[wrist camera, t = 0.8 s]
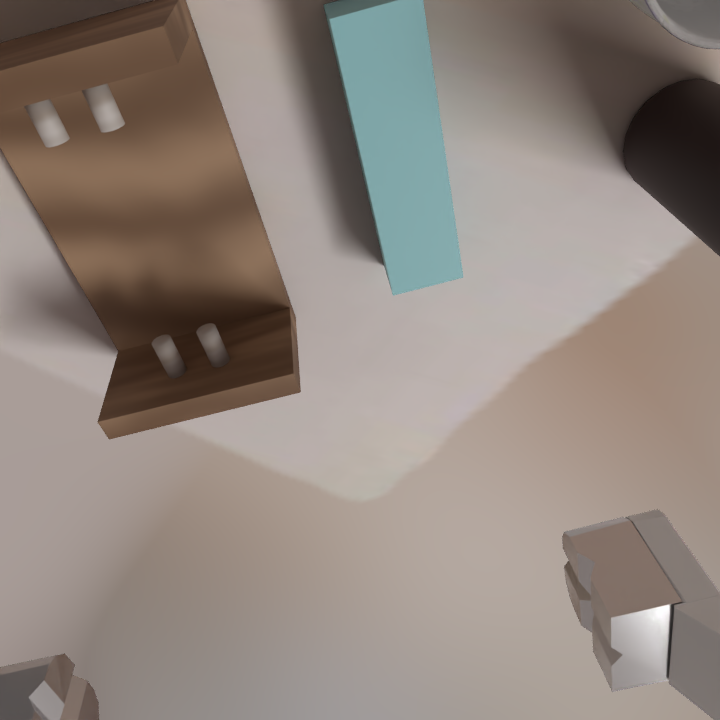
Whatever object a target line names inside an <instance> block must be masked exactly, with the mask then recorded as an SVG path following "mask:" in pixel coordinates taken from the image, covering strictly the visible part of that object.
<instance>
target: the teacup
mask: <svg viewBox="0 0 720 720" xmlns="http://www.w3.org/2000/svg"><path fill="white" fill-rule="evenodd" d="M630 1H631V2H632V3H633V4H634V5H635V6H636V7H637V8H639V9H640V10H641V11H642V12H644V13H645V14H647V15H648V16H649V17H651V18H652V19H654V20H656V21H657V22H659V23H660V25H661V26H662V27H663V28H665V29H666V30H667V31H668V32H669V33H670V34H672V35H673V36H675V37H676V38H678V39H680V40H682V41H684V42H686V43H689V44H691V45H693V46H697V47H701V48H706V49H720V0H630Z"/></svg>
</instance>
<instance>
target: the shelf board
mask: <svg viewBox="0 0 720 720" xmlns="http://www.w3.org/2000/svg"><path fill="white" fill-rule="evenodd" d="M324 9H325V13H326V18H327V22H328V26H329V31H330V35H331V39H332V44H333V48H334V52H335V56H336V61H337V65H338V69H339V74H340V78H341V82H342V87H343V91H344V95H345V99H346V104H347V108H348V112H349V117H350V121H351V125H352V129H353V134H354V138H355V142H356V147H357V151H358V155H359V160H360V164H361V168H362V172H363V177H364V181H365V185H366V190H367V194H368V198H369V203H370V207H371V211H372V215H373V220H374V224H375V228H376V233H377V237H378V241H379V245H380V250H381V254H382V258H383V263H384V267H385V270H386V274H387V277H388V280H389V284H390V287H391V290H392V294H393V295H397V294H401V293H405V292H409V291H413V290H416V289H420V288H424V287H428V286H432V285H436V284H440V283H444V282H448V281H452V280H455V279H459V278H463V271H462V264H461V257H460V250H459V244H458V237H457V230H456V223H455V216H454V209H453V202H452V196H451V189H450V182H449V175H448V168H447V161H446V154H445V147H444V141H443V134H442V127H441V120H440V113H439V106H438V99H437V93H436V86H435V79H434V72H433V65H432V58H431V51H430V44H429V38H428V31H427V24H426V17H425V10H424V3H423V0H339V1H335V2H332V3H328V4H324Z"/></svg>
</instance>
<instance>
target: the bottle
mask: <svg viewBox="0 0 720 720" xmlns="http://www.w3.org/2000/svg"><path fill="white" fill-rule="evenodd" d="M623 153H624V159H625V165H626V169H627V170H628V172H629V173H630V175H631V176H632V178H633V180H634V181H635V182H637V183H638V184H639V185H640V186H641V187H642V188H643V189H644V190H646V191H647V192H648V193H649V194H650V195H651V196H652V197H653V198H655V199H656V200H657V201H658V202H659V203H660V204H661V205H662V206H664V207H665V208H666V209H667V210H668V211H669V212H670V213H671V214H673V215H674V216H675V217H676V218H677V219H678V220H679V221H680V222H682V223H683V224H684V225H685V226H686V227H687V228H688V229H689V230H691V231H692V232H693V233H694V234H695V235H696V236H697V237H699V238H700V239H701V240H702V241H703V242H704V243H705V244H706V245H708V246H709V247H710V248H711V249H712V250H713V251H714V252H715V253H717V254H718V255H719V256H720V85H719V84H717V83H714V82H710V81H706V80H702V79H694V80H687V81H680V82H677V83H675V84H673V85H671V86H669V87H666V88H664V89H662V90H661V91H660V92H658V93H657V94H656V95H654V96H653V97H652V98H651V99H649V100H648V101H647V102H646V103H645V104H644V105H643V107H642V108H641V109H640V111H639V112H638V113H637V114H636V116H635V117H634V118H633V121H632V123H631V125H630V127H629V129H628V131H627V134H626V137H625V144H624V150H623Z"/></svg>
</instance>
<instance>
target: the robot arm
mask: <svg viewBox="0 0 720 720" xmlns="http://www.w3.org/2000/svg"><path fill="white" fill-rule="evenodd" d="M562 543H563V549H564V552H565V554H566V556H567V558H568V560H569V561H568V562H567V564H566V565H565V566H564V570H565V578H566V584H567V588H568V592H569V596H570V599H571V602H572V604H573V607H574V610H575V612H576V614H577V617H578V619H579V621H580V623H581V625H582V626H583V627H584V628H586V629H587V630H589V631H590V632H592V636H593V652H594V654H595V656H596V658H597V660H598V663H599V665H600V667H601V669H602V671H603V673H604V675H605V677H606V680H607V682H608V684H609V686H610V688H611V690H612V691H618V690H623V689H628V688H633V687H638V686H643V685H647V684H652V683H657V682H662V681H666V680H669V684H670V685H671V686H673V687H674V688H675V689H676V690H678V691H679V692H680V693H681V694H683V695H684V696H685V697H686V698H688V699H689V700H690V701H692V702H693V703H694V704H695V705H696V706H698V707H699V708H700V709H701V710H703V711H704V712H705V713H706V714H708V715H709V716H710V717H711V718H713V719H714V720H720V591H719V590H718V588H717V587H716V586H715V584H714V583H713V581H712V580H711V579H710V577H709V576H708V574H707V573H706V572H705V570H704V569H703V567H702V566H701V565H700V563H699V562H698V561H697V559H696V558H695V556H694V555H693V553H692V552H691V551H690V549H689V548H688V546H687V545H686V544H685V542H684V541H683V539H682V538H681V536H680V535H679V534H678V532H677V531H676V530H675V528H674V527H673V525H672V524H671V522H670V521H669V520H668V518H667V517H666V515H665V514H664V513H663V512H661V511H660V510H658V509H657V510H652V511H648V512H644V513H640V514H636V515H632V516H628V517H625V518H624V517H620V518H617V519H613V520H609V521H605V522H601V523H597V524H593V525H589V526H586V527H582V528H578V529H574V530H570V531H566V532H564V533H563V536H562ZM74 667H75V664H74V663H73V662H72V661H71V660H70V659H69V658H68V656H67V655H66V654H60V655H55V656H51V657H46V658H41V659H36V660H31V661H27V662H22V663H17V664H12V665H8V666H4V667H0V720H99V702H98V699H97V696H96V694H95V691H94V689H93V687H92V686H91V685H90V683H89V682H88V681H87V680H84V679H82V678H79V677H76V676H74V675H73V671H74Z"/></svg>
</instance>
